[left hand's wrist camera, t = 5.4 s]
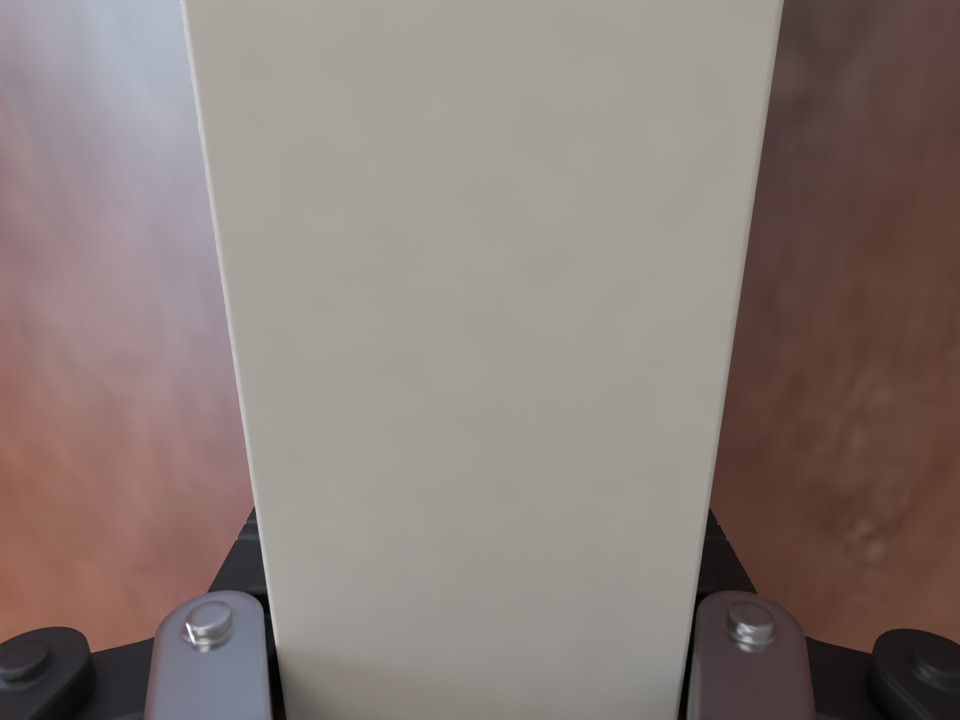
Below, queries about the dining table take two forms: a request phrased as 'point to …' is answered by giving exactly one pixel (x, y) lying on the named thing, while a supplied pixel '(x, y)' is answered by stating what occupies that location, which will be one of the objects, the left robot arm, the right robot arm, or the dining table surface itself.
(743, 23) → the bar
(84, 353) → the dining table surface
